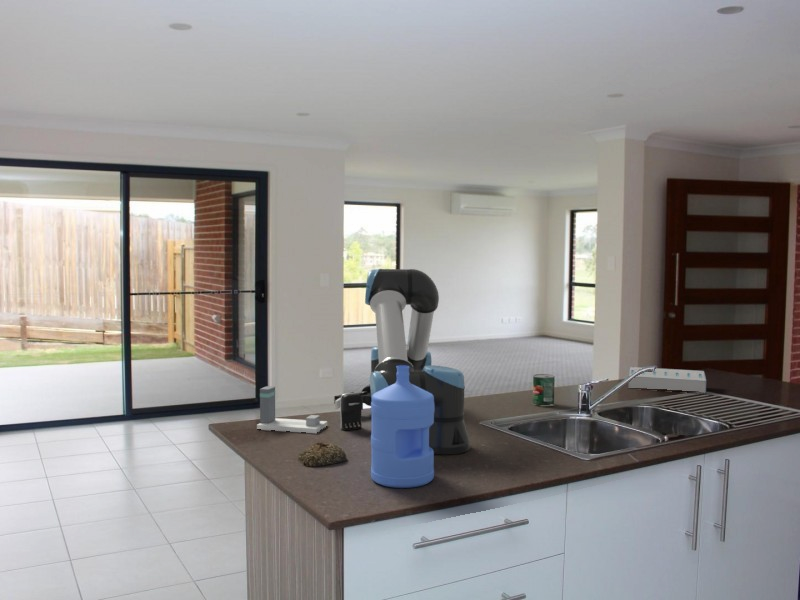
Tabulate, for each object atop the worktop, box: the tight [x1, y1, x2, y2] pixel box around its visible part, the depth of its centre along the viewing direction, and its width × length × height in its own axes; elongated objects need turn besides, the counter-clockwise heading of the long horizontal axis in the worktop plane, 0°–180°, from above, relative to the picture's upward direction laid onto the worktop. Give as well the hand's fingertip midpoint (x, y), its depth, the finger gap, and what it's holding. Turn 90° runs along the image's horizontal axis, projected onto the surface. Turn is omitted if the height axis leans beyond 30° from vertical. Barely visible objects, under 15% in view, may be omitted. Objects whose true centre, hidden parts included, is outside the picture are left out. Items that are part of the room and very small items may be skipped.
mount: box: [256, 385, 328, 434], centre depth 221 cm, size 10×20×12 cm, turn 76°
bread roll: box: [297, 441, 347, 468], centre depth 187 cm, size 13×12×5 cm
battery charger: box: [339, 392, 364, 431], centre depth 219 cm, size 7×4×11 cm, turn 116°
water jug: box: [370, 365, 435, 489], centre depth 170 cm, size 16×16×28 cm
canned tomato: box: [532, 373, 556, 405], centre depth 257 cm, size 8×8×11 cm
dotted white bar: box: [627, 366, 707, 393], centre depth 292 cm, size 30×14×8 cm, turn 70°
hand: (355, 406), depth 224 cm, fingers open, 13 cm apart
